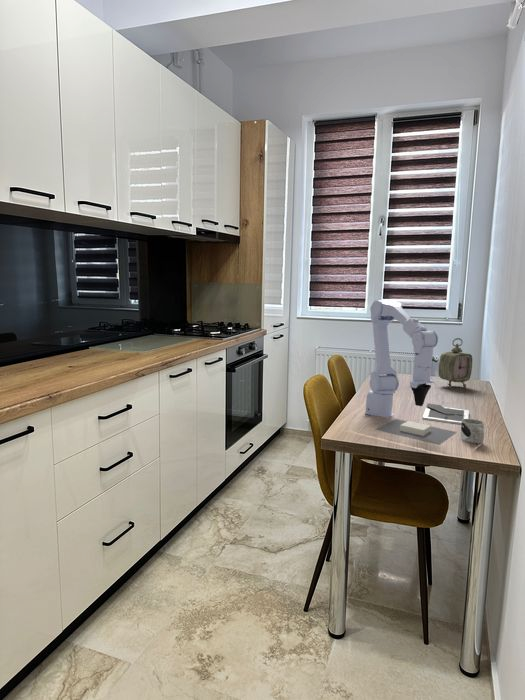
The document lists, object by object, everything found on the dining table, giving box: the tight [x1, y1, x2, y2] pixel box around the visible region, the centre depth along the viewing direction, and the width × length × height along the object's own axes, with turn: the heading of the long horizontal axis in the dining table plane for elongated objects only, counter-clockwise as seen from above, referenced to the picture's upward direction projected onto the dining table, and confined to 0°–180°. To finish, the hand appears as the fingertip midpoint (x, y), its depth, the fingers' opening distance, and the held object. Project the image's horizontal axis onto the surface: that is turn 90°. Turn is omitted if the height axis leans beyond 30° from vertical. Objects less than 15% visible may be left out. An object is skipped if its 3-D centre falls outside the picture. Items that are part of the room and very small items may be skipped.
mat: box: [374, 418, 458, 446], centre depth 164 cm, size 22×18×1 cm
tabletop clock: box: [438, 337, 473, 389], centre depth 240 cm, size 14×9×25 cm, turn 118°
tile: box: [400, 420, 432, 436], centre depth 163 cm, size 8×2×7 cm
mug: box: [459, 418, 485, 445], centre depth 155 cm, size 10×7×7 cm
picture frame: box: [422, 403, 470, 425], centre depth 185 cm, size 16×3×21 cm
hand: (419, 405), depth 163 cm, fingers closed
